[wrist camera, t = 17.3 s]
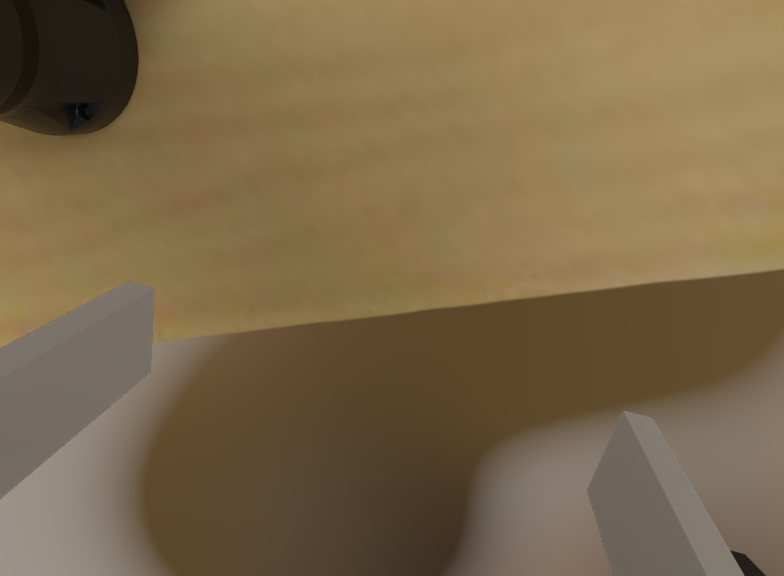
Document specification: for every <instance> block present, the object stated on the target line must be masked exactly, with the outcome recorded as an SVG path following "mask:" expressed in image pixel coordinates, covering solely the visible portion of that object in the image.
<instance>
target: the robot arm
mask: <svg viewBox="0 0 784 576" xmlns="http://www.w3.org/2000/svg"><path fill="white" fill-rule="evenodd" d="M136 72H137V45H136V39H135V34H134V30H133V26H132V22H131V19H130V17H129V14H128V11H127V9H126V7H125V5H124V3H123V1H122V0H0V121H3V122H6V123H9V124H12V125H15V126H18V127H21V128H24V129H27V130H30V131H33V132H37V133H41V134H47V135H57V136H62V135H77V134H85V133H90V132H93V131H96V130H98V129H101V128H102V127H104V126H106V125H107V124H109V123H110V122H111V121H113V120H114V119H115V118H116V117H117V116H118V115H119V114H120V112H121V111H122V110H123V108H124V107H125V105H126V103H127V102H128V100H129V98H130V95H131V93H132V90H133V87H134V83H135V79H136ZM154 291H155V288H153V287H149V286H146V285H142V284H138V283H134V282H130V281H128V282H126V283H124V284H122V285H120V286H119V287H117V288H115V289H113V290H111V291H109V292H107V293H105V294H103V295H101V296H99V297H97V298H96V299H94V300H92V301H90V302H88V303H86V304H84V305H82V306H80V307H78V308H76V309H75V310H73V311H71V312H69V313H67V314H65V315H63V316H61V317H59V318H57V319H55V320H53V321H52V322H50V323H48V324H46V325H44V326H42V327H40V328H38V329H36V330H34V331H32V332H30V333H29V334H27V335H25V336H23V337H21V338H19V339H17V340H15V341H13V342H11V343H9V344H8V345H6V346H4V347H2V348H0V499H1V498H2V497H4V496H5V495H6V494H7V493H8V492H9V491H10V490H12V489H13V488H14V487H15V486H17V485H18V484H19V483H20V482H21V481H22V480H24V479H25V478H26V477H27V476H28V475H30V474H31V473H32V472H33V471H34V470H35V469H37V468H38V467H39V466H40V465H41V464H43V463H44V462H45V461H46V460H47V459H49V458H50V457H51V456H52V455H53V454H54V453H55V452H57V451H58V450H59V449H60V448H61V447H63V446H64V445H65V444H66V443H67V442H68V441H70V440H71V439H72V438H73V437H74V436H75V435H77V434H78V433H79V432H80V431H82V430H83V429H84V428H85V427H86V426H88V425H89V424H90V423H91V422H92V421H93V420H95V419H96V418H97V417H98V416H99V415H101V414H102V413H103V412H104V411H105V410H106V409H108V408H109V407H110V406H111V405H112V404H114V403H115V402H116V401H117V400H118V399H119V398H121V397H122V396H123V395H124V394H125V393H127V392H128V391H129V390H130V389H131V388H132V387H134V386H135V385H136V384H137V383H138V382H139V381H141V380H142V379H143V378H144V377H145V376H147V375H148V374H149V373H150V372H151V358H152V356H151V355H152V336H153V314H154ZM587 493H588V496H589V499H590V502H591V506H592V509H593V512H594V515H595V519H596V522H597V525H598V529H599V532H600V535H601V538H602V542H603V545H604V548H605V551H606V555H607V558H608V561H609V564H610V568H611V571H612V574H613V576H765V574H764V573H763V572H762V571H761V570H760V569H759V568H758V567H757V566H756V565H755V564H754V563H753V562H752V561H751V560H750V559H749V558H748V557H747V556H746V555H745V554H741V553H738V552H734V551H730V550H729V548H728V547H727V545H726V543H725V542H724V540H723V538H722V536H721V535H720V533H719V531H718V529H717V528H716V526H715V524H714V523H713V521H712V519H711V518H710V516H709V514H708V512H707V511H706V509H705V507H704V506H703V504H702V502H701V500H700V499H699V497H698V496H697V494H696V492H695V490H694V488H693V487H692V485H691V483H690V482H689V480H688V478H687V477H686V475H685V473H684V472H683V470H682V468H681V466H680V465H679V463H678V461H677V459H676V458H675V456H674V454H673V453H672V451H671V449H670V448H669V446H668V444H667V442H666V441H665V439H664V437H663V436H662V434H661V432H660V430H659V429H658V427H657V425H656V424H655V422H654V420H653V418H650V417H646V416H642V415H638V414H635V413H631V412H627V411H623V412H622V415H621V417H620V419H619V421H618V423H617V426H616V428H615V430H614V432H613V434H612V436H611V439H610V441H609V443H608V445H607V447H606V450H605V452H604V454H603V456H602V458H601V461H600V463H599V465H598V467H597V469H596V471H595V474H594V476H593V478H592V480H591V483H590V485H589V487H588V489H587Z"/></svg>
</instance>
